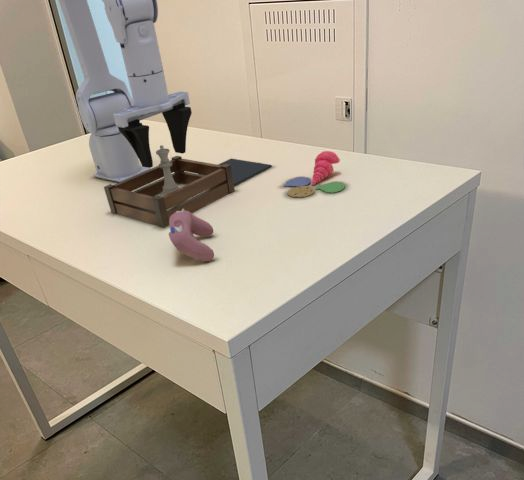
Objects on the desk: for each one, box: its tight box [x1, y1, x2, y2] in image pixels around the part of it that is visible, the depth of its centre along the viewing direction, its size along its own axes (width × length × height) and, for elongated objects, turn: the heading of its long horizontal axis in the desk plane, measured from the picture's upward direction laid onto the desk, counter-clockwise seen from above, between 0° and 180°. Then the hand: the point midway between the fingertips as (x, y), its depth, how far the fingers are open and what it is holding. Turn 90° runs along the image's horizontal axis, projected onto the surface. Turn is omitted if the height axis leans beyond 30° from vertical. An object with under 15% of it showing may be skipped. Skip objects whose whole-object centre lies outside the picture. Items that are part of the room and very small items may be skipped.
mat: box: [200, 158, 273, 187], centre depth 108 cm, size 11×11×1 cm
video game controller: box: [168, 209, 215, 262], centre depth 80 cm, size 10×5×7 cm, turn 5°
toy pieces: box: [283, 150, 346, 198], centre depth 97 cm, size 12×11×4 cm
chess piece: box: [155, 144, 184, 205], centre depth 96 cm, size 4×4×10 cm
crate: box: [103, 155, 236, 228], centre depth 97 cm, size 14×17×5 cm
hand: (164, 159), depth 94 cm, fingers open, 7 cm apart
